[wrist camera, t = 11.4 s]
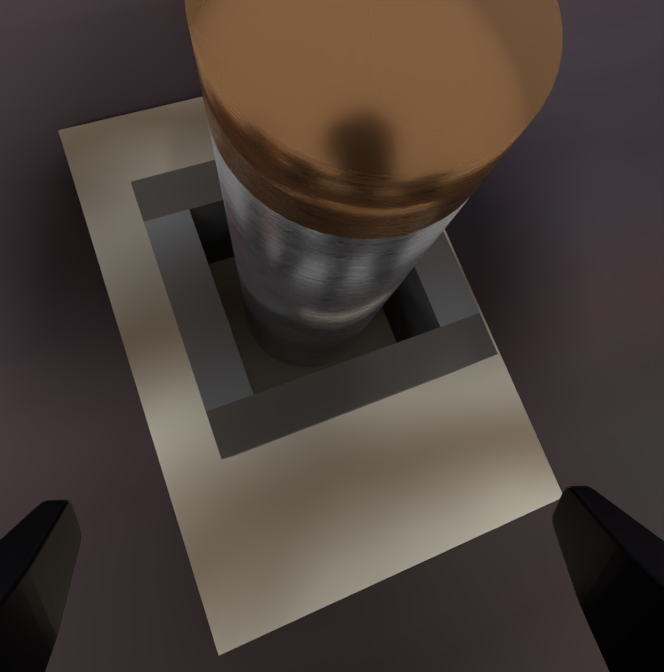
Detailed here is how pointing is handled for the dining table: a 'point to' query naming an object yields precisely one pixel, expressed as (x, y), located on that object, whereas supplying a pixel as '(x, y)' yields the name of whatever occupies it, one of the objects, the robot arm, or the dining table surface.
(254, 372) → the block
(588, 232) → the dining table surface
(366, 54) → the pin
